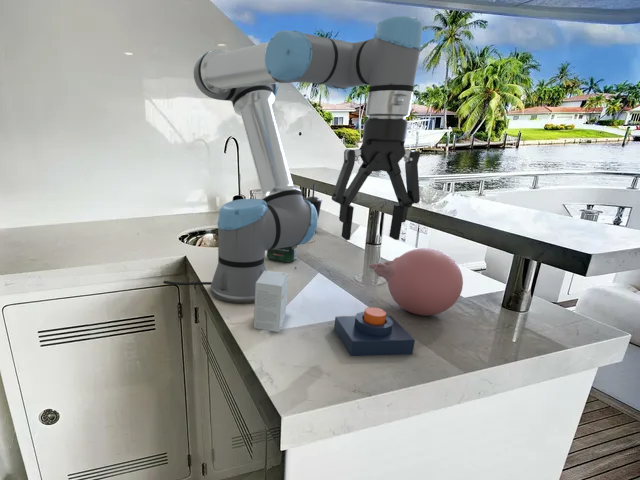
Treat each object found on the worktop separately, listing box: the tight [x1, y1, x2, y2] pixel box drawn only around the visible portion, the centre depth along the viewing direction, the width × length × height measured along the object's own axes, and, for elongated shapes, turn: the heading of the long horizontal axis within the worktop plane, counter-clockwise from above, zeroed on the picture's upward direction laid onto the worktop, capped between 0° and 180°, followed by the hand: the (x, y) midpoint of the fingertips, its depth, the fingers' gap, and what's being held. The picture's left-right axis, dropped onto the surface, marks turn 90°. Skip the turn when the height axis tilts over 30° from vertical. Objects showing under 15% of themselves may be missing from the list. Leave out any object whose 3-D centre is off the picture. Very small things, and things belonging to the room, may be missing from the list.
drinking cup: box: [303, 183, 323, 234], centre depth 157 cm, size 8×8×20 cm
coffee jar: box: [266, 245, 298, 263], centre depth 122 cm, size 10×8×19 cm
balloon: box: [368, 247, 464, 316], centre depth 88 cm, size 15×20×15 cm
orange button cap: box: [363, 306, 387, 325], centre depth 74 cm, size 4×4×2 cm
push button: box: [333, 311, 416, 357], centre depth 75 cm, size 12×10×5 cm
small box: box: [253, 270, 289, 333], centre depth 81 cm, size 8×6×10 cm
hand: (369, 238), depth 76 cm, fingers open, 9 cm apart
